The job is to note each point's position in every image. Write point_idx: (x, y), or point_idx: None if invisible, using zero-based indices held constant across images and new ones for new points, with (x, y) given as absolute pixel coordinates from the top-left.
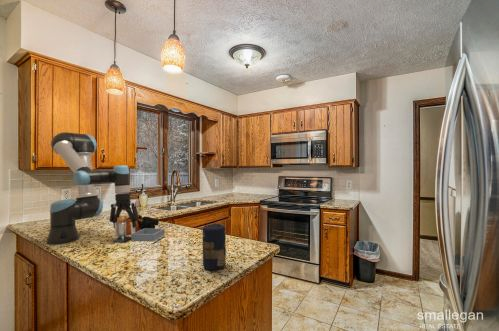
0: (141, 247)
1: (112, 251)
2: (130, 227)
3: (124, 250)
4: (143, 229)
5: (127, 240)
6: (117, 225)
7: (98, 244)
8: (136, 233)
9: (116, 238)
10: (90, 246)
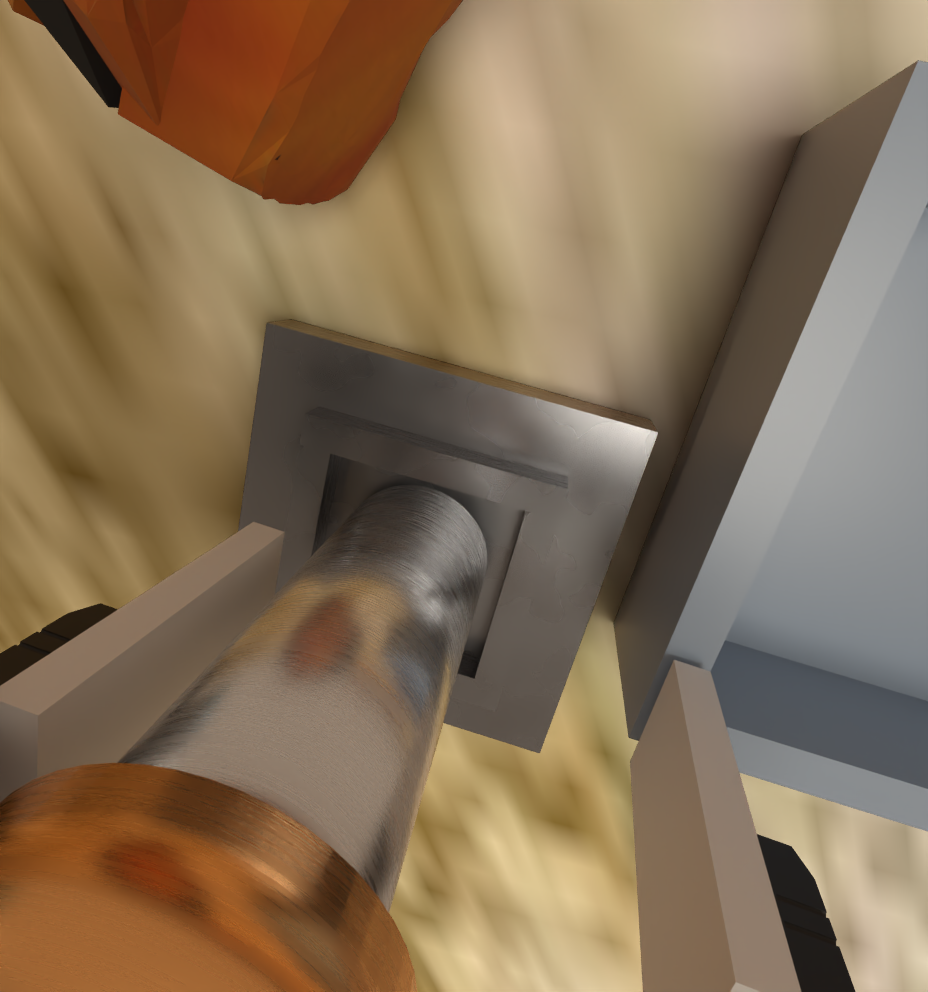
0: (837, 868)
1: (443, 901)
2: (388, 23)
3: (597, 913)
4: (910, 238)
5: (530, 612)
6: (126, 716)
7: (62, 533)
8: (727, 612)
9: (290, 559)
10: (9, 607)
